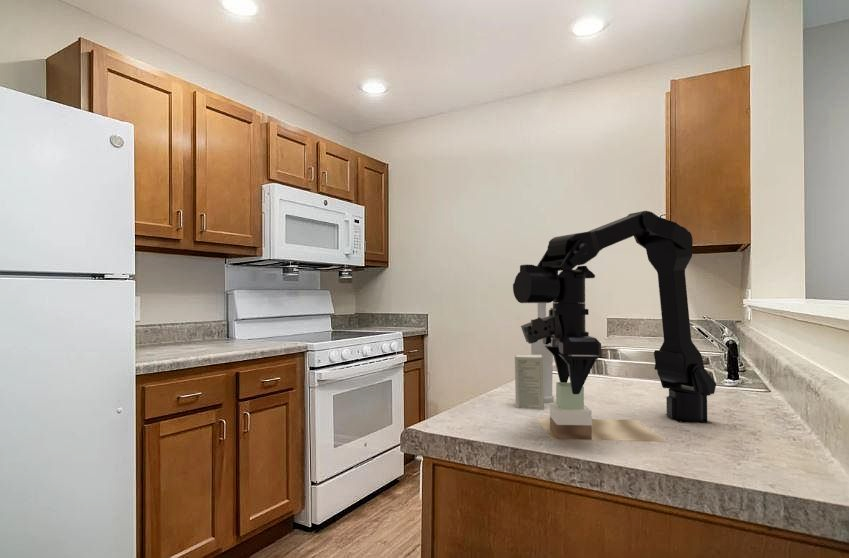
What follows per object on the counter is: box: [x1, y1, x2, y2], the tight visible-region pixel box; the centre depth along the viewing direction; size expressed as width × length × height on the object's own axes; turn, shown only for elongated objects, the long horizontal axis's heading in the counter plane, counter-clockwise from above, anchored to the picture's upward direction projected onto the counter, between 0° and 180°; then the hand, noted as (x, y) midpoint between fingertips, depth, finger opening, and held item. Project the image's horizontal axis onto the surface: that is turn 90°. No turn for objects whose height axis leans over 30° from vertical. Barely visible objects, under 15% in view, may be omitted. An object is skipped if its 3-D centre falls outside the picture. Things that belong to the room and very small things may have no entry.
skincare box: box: [514, 353, 545, 410], centre depth 108 cm, size 6×4×12 cm
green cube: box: [555, 381, 585, 409], centre depth 87 cm, size 4×4×4 cm
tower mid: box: [549, 402, 593, 425], centre depth 87 cm, size 6×6×2 cm
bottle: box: [530, 303, 554, 404], centre depth 114 cm, size 5×5×25 cm
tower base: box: [549, 416, 593, 441], centre depth 87 cm, size 6×6×2 cm
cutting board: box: [536, 417, 669, 443], centre depth 90 cm, size 20×14×1 cm
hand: (569, 388), depth 87 cm, fingers open, 9 cm apart
